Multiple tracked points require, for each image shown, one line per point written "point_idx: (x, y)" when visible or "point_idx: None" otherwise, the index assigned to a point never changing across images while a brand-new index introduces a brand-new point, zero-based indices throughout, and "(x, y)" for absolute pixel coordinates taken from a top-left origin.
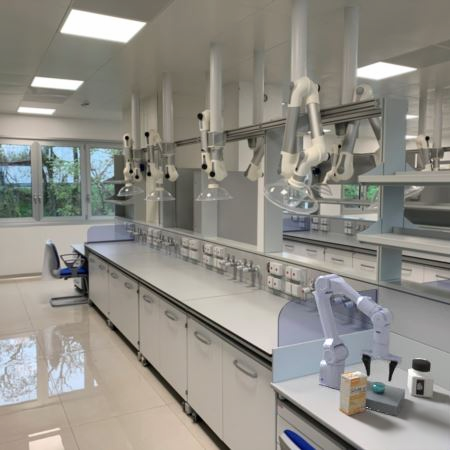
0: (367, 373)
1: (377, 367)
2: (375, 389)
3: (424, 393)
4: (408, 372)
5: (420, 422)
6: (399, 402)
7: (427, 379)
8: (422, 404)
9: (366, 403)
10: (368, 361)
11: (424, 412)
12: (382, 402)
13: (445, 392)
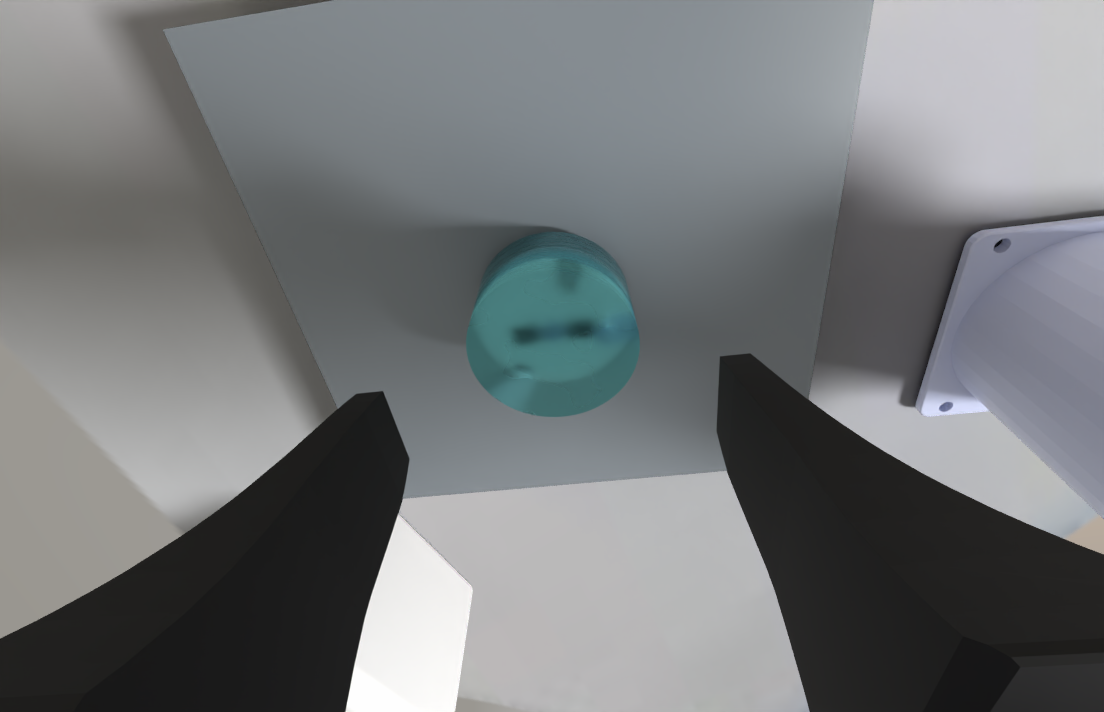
0: (761, 376)
1: (727, 692)
2: (566, 248)
3: None
4: (446, 703)
5: (5, 76)
6: (261, 220)
7: None
8: (257, 433)
9: None
10: (895, 625)
11: (152, 317)
12: (368, 2)
13: None
